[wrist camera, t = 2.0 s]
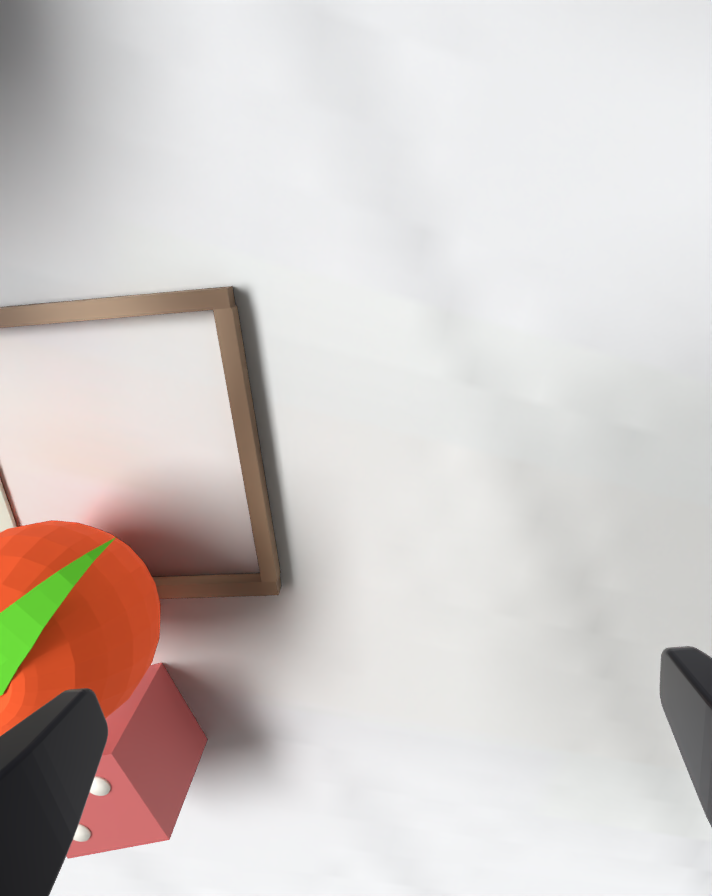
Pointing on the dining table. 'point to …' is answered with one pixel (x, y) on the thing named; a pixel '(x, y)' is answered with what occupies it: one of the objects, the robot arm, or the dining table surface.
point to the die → (141, 769)
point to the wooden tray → (241, 414)
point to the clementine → (72, 617)
